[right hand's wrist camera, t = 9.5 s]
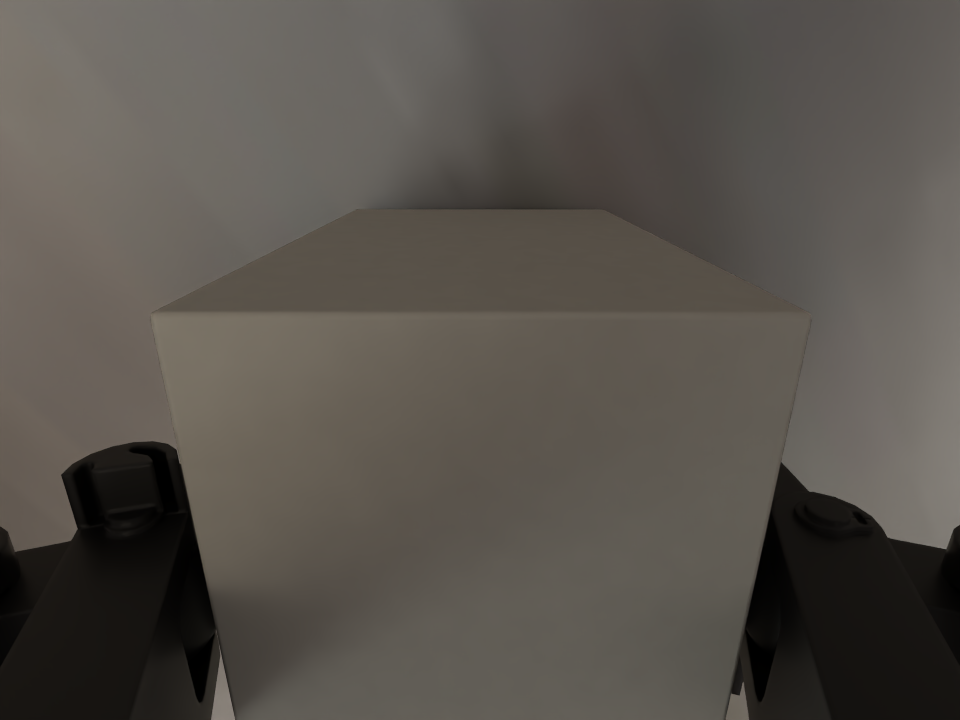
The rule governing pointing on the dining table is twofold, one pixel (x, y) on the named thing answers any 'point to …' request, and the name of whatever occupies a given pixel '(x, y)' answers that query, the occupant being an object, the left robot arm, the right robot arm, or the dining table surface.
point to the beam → (480, 466)
